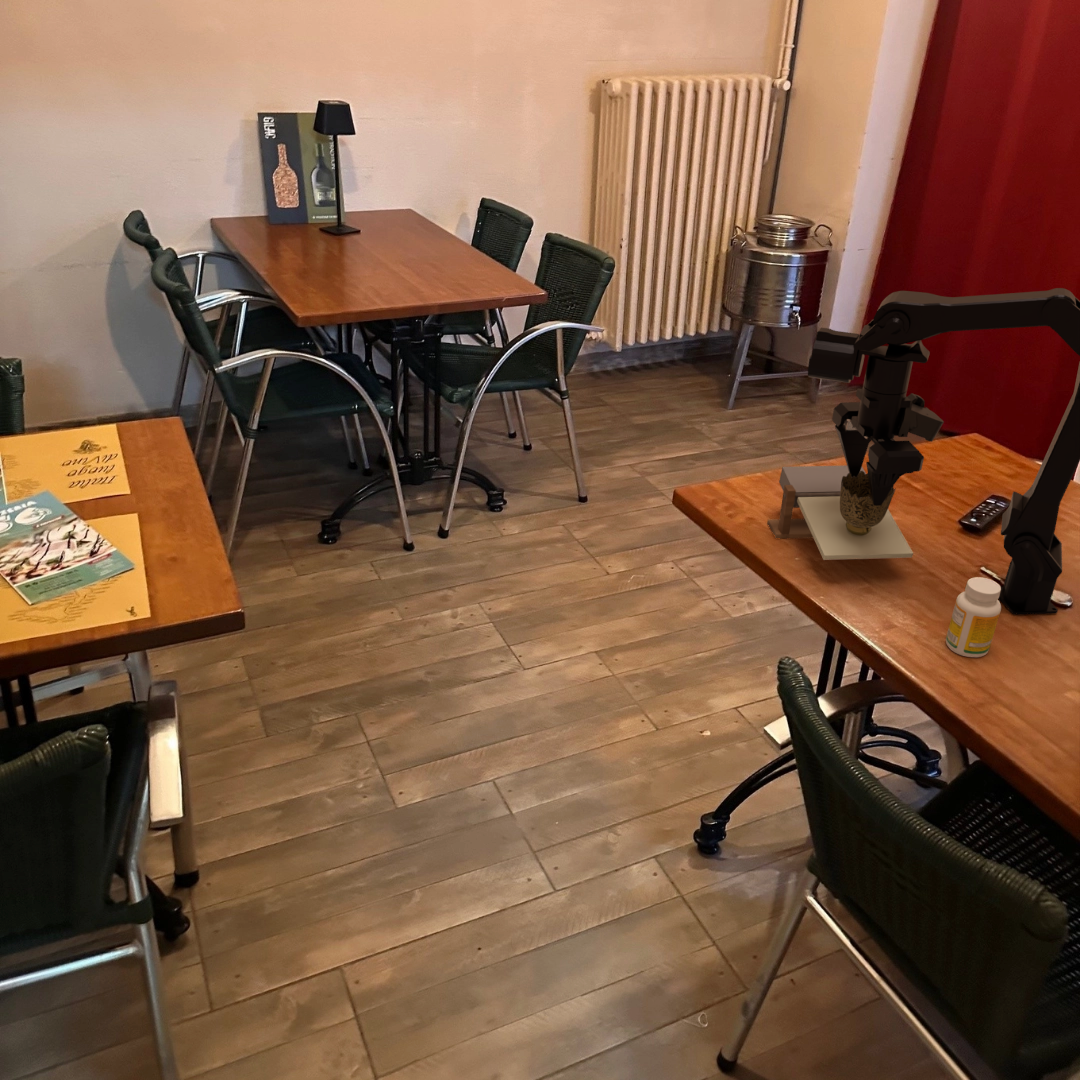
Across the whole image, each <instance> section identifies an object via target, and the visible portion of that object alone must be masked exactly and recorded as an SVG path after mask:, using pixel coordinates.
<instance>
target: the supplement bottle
mask: <svg viewBox="0 0 1080 1080" xmlns="http://www.w3.org/2000/svg"><path fill="white" fill-rule="evenodd" d="M1001 587H1002V586H1001V585H1000V584H999V583H997V582H996V581H994V580H993V579H990V578H986V577H982V576H981V577H980V576H975V577H972V578H969V579H968V580H967V582H966V586H965V588H964V589H965V591H962V592H961V593H959V594H958V596H957V597H956V598H955V599H956V600H955V604H954V608H953V610H952V615H951V619H950V623H949V626H948V629H947V633H946V637H945V643H946V646H947V647H948V648H949V649H950V650H951V651H952V652H954V653H955V654H957V655H959V656H963V657H968V658H981V657H984V656H985V655H987V654H988V652H989V651H990V648H991V645H992V642H993V637H994V634H995V633H996V632H995V631H996V627H997V624H998V621H999V617H1000V614H1001V611H1002V605H1001V603H1000V600H998V599H999V595H1000V591H1001Z"/></svg>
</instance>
